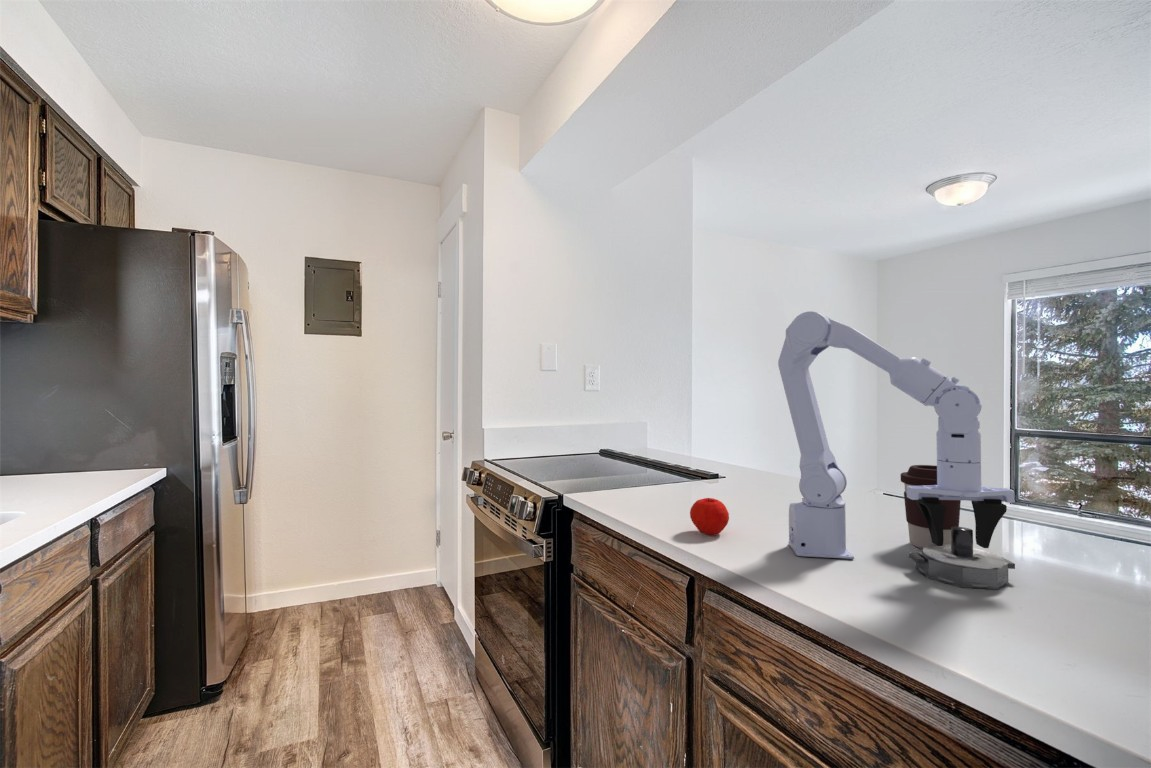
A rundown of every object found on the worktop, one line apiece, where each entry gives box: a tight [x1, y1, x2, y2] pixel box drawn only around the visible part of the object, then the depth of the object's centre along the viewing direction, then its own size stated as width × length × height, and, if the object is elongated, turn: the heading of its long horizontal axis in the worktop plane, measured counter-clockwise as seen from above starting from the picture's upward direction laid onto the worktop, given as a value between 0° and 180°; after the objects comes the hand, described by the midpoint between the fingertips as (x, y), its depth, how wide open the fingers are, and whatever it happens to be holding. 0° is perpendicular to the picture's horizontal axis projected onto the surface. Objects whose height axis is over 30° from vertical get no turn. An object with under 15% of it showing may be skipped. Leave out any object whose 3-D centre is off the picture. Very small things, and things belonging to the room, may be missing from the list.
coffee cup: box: [900, 464, 962, 549], centre depth 97 cm, size 10×10×15 cm
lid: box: [923, 526, 1005, 569], centre depth 82 cm, size 10×10×5 cm
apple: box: [689, 497, 730, 536], centre depth 107 cm, size 8×8×7 cm
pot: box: [908, 548, 1016, 590], centre depth 82 cm, size 14×11×3 cm
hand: (959, 545), depth 82 cm, fingers open, 6 cm apart
